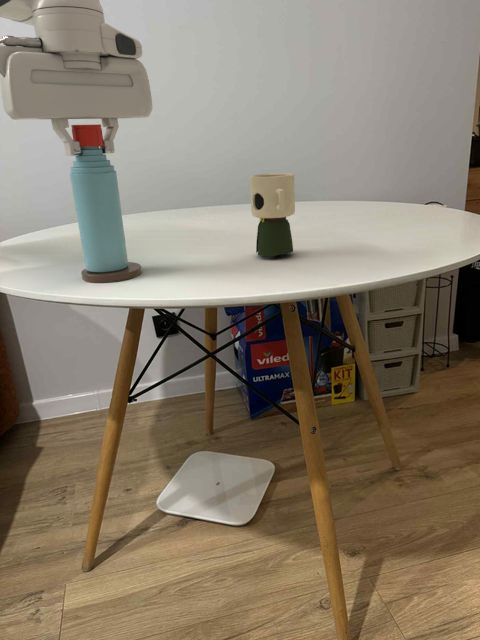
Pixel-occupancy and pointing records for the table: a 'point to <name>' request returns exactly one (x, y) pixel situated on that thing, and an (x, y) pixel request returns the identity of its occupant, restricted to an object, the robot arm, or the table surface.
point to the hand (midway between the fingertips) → (91, 154)
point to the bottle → (98, 211)
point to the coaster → (113, 274)
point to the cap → (88, 135)
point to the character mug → (273, 212)
